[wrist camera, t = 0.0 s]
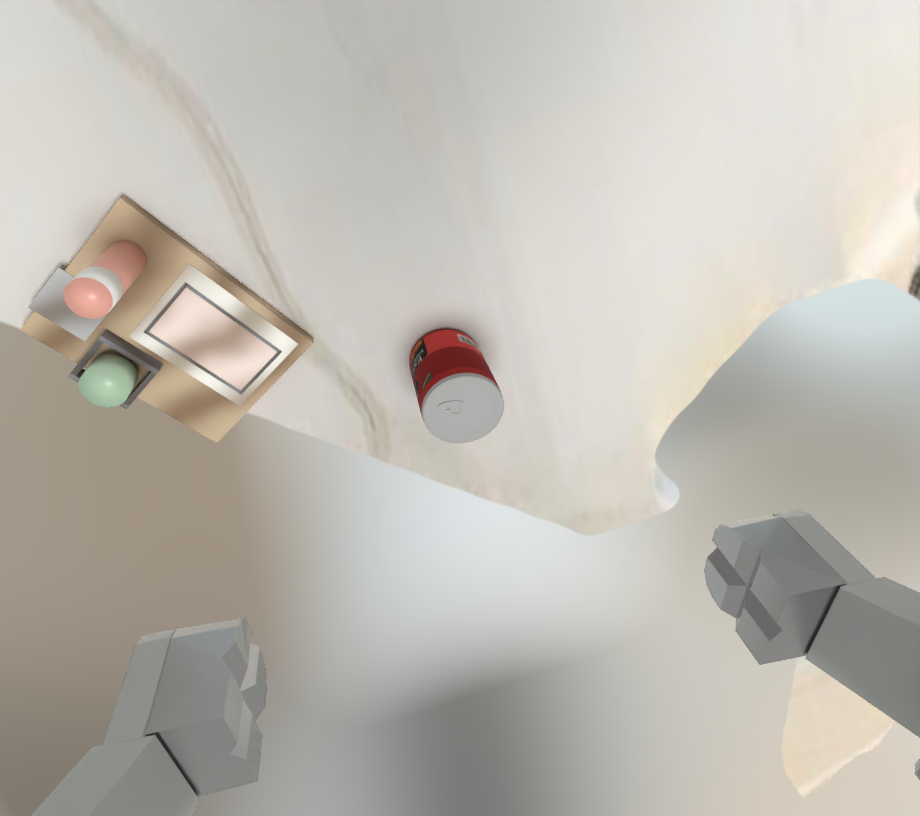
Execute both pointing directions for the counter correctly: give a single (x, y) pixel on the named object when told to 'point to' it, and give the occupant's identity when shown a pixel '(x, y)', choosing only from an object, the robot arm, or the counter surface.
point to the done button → (108, 380)
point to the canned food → (455, 387)
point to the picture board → (173, 327)
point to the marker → (105, 280)
